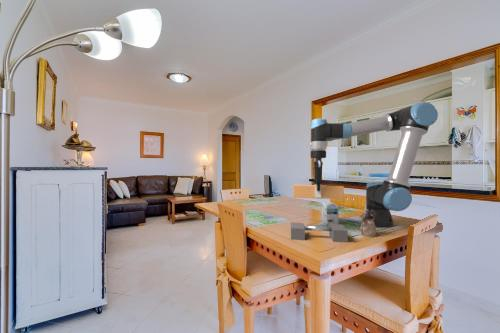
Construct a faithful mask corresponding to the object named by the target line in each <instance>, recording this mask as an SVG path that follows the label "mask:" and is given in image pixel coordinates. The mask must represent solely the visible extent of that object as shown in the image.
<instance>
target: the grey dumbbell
mask: <svg viewBox="0 0 500 333" xmlns="http://www.w3.org/2000/svg"><path fill="white" fill-rule="evenodd" d="M306 231H311V232H312V231H313V232H314V231H315V232H328V234H329V237H330V238H331V240H332V241H333V242H336V243H348V242H349V240H348V239H349V231H348V229H347V228H346V227H345V226H344V224H340V223H339V224H329V225H328V226H322V225H321V226H318V225H317V226H316V225H305V223H304V222H290V240H293V239H295V241H298V240H299V241H305V240H306Z"/></svg>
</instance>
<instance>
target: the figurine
mask: <svg viewBox="0 0 500 333" xmlns="http://www.w3.org/2000/svg"><path fill="white" fill-rule="evenodd" d="M373 212H374V210H371V211H369V210H368V209H366V208H365V210H363V211H362V213H361V215H360V220H361V223H360V228H359V232H358V233H359V235H361V236H362V237H368V238H369V237H370V238H373V237H375V236H376V235H377V228H376V227H377V226H375V223H374V219H375V217H374V215H373ZM371 216H373V219H371V218H370V217H371Z"/></svg>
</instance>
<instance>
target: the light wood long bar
mask: <svg viewBox="0 0 500 333" xmlns="http://www.w3.org/2000/svg"><path fill="white" fill-rule="evenodd" d="M292 188H293V189H292V190H293V193H292V195H293V196H292V198H295V199H296V198H298V199H323V200H344V199H345V197H344V196H345V187H344V186H342V185H322V184H321V198H317V197H315V184H293V187H292Z"/></svg>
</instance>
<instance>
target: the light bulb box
mask: <svg viewBox="0 0 500 333" xmlns="http://www.w3.org/2000/svg"><path fill="white" fill-rule="evenodd" d="M339 206H340V205H338V204H336V203H333V202H331V201H329V202H327V201H326V202H325V201H322V202H321V221H322V222H323V223H324V224H325V225H328V226H329V224H340V222H339V221H340V220H339V219H340V218H339V215H340V214H339V213H340V212H339Z"/></svg>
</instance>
